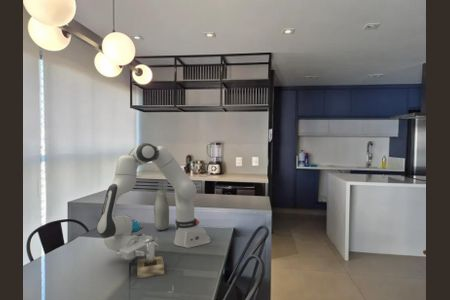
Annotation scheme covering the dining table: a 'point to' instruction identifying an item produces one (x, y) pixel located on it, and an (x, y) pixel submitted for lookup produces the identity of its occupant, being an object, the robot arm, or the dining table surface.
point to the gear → (135, 225)
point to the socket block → (150, 267)
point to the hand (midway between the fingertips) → (151, 250)
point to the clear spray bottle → (150, 251)
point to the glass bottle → (161, 211)
